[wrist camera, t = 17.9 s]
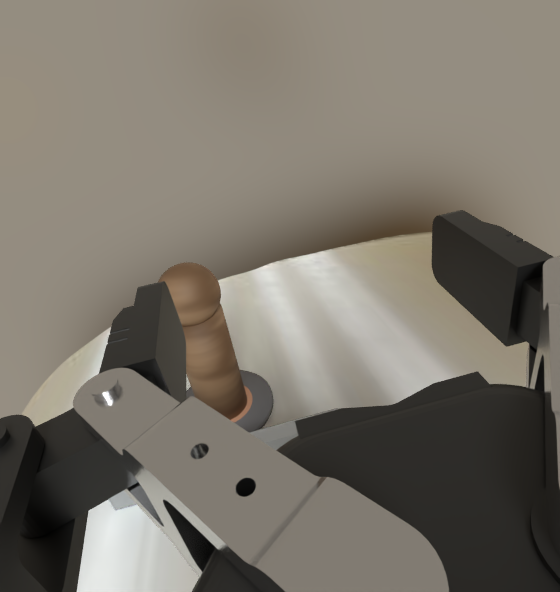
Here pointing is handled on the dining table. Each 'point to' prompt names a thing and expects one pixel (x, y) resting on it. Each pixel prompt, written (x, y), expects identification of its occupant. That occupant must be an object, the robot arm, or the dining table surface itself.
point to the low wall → (269, 435)
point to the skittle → (206, 339)
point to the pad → (252, 402)
